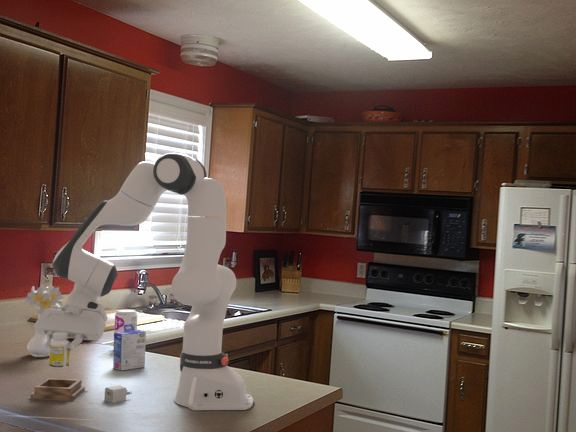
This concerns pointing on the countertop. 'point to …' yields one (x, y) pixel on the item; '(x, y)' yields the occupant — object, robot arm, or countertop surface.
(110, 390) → the usb wall charger
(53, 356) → the supplement bottle
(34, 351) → the flower vase
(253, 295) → the countertop surface
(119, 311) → the supplement can
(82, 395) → the mat
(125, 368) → the ink cartridge box
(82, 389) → the wooden tray
